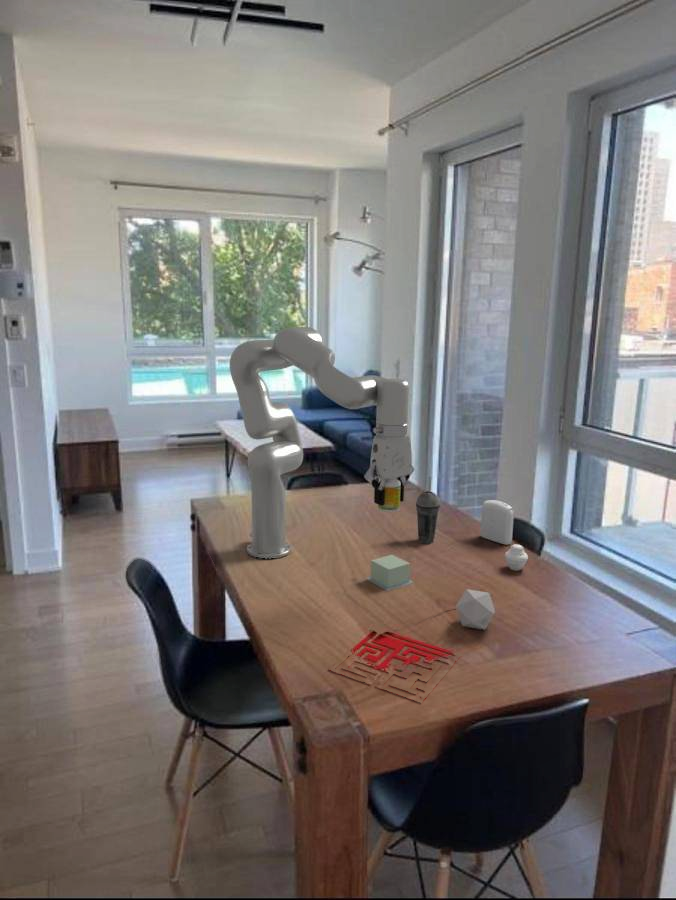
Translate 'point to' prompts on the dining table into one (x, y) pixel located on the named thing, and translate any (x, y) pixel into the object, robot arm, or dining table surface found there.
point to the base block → (390, 571)
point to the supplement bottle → (391, 495)
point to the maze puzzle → (396, 649)
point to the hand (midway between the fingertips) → (388, 501)
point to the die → (475, 609)
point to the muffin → (516, 557)
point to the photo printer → (497, 521)
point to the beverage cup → (427, 515)
